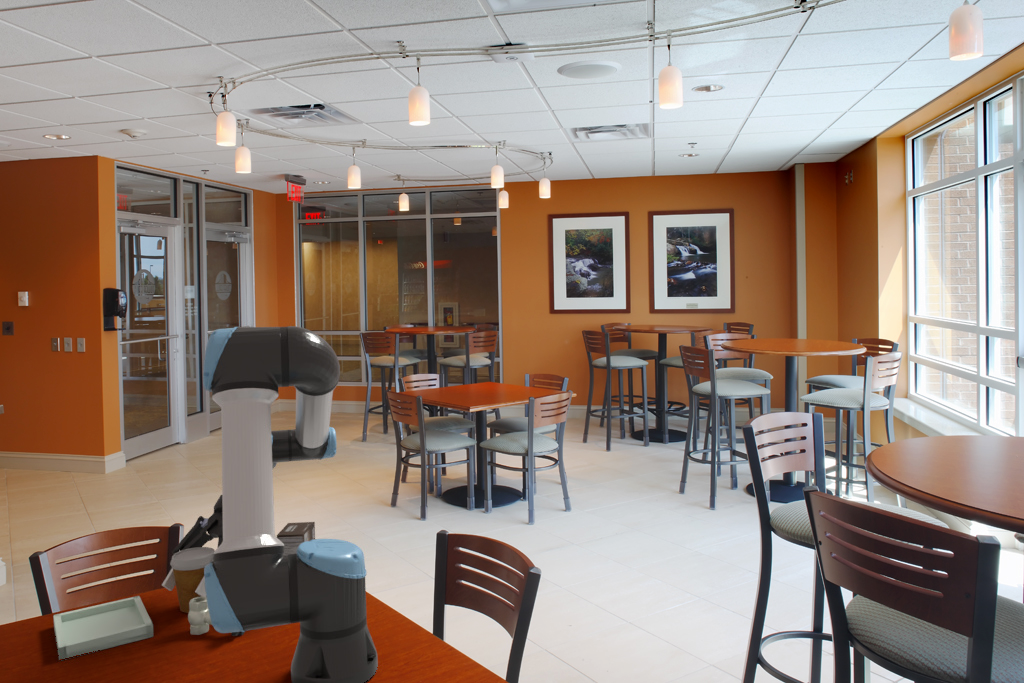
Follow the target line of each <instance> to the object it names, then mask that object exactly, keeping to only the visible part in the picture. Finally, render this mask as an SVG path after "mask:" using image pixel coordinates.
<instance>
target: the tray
mask: <svg viewBox="0 0 1024 683" xmlns="http://www.w3.org/2000/svg"><path fill="white" fill-rule="evenodd" d="M52 617H53V629H54V636H56V637H55V643H56V642H57V643H56V647H57V649H58V650H57V656H58V655H59V656H58V661H59V660H60V659H65V658H69V657H73V656H76V655H80V656H82V655H81V654H84V653H88V654H90V653H89V652H92V653H95V651H96V652H99V651H98V650H100V651H102V650H107V649H110V648H114V647H118V646H121V645H126V644H131V643H133V642H139V641H141V640H145V639H149V638H153V637H154V624H153V621H152V619H151V617H150V616H149V614H148V612H147V609H146V607H145V605H144V603H143V601H142V598H141V596H140V595H135V596H132V597H127V598H122V599H118V600H114V601H109V602H105V603H101V604H97V605H92V606H91V605H90V606H88V607H83V608H79V609H75V610H70V611H65V612H61V613H57V614H53V616H52ZM93 651H94V652H93ZM84 655H85V654H84ZM73 658H74V657H73ZM69 659H70V658H69ZM65 660H66V659H65Z"/></svg>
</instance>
